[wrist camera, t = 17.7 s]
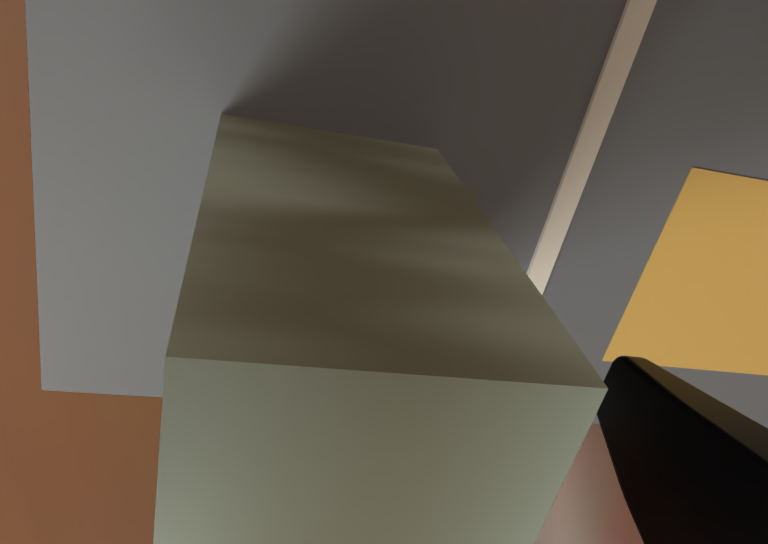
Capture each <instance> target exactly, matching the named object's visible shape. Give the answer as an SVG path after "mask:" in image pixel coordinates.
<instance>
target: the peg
mask: <svg viewBox="0 0 768 544" xmlns="http://www.w3.org/2000/svg"><path fill="white" fill-rule="evenodd" d="M607 390H608V387H607V386H606V385H605V383H604V382H603V380H602V379H601V378H600V376H599V375H598V373H597V372H596V371H595V369H594V368H593V366H592V365H591V364H590V362H589V361H588V359H587V358H586V357H585V355H584V354H583V352H582V351H581V350H580V348H579V347H578V345H577V344H576V343H575V341H574V340H573V338H572V337H571V336H570V334H569V333H568V331H567V330H566V329H565V327H564V326H563V324H562V323H561V322H560V320H559V319H558V317H557V316H556V315H555V313H554V312H553V310H552V309H551V307H550V306H549V305H548V303H547V302H546V300H545V299H544V298H543V296H542V295H541V293H540V292H539V291H538V289H537V288H536V286H535V285H534V284H533V282H532V281H531V279H530V278H529V277H528V275H527V274H526V272H525V271H524V270H523V268H522V267H521V265H520V264H519V263H518V261H517V260H516V258H515V257H514V256H513V254H512V253H511V251H510V250H509V249H508V247H507V246H506V244H505V243H504V242H503V240H502V239H501V237H500V236H499V235H498V233H497V232H496V230H495V229H494V228H493V226H492V225H491V223H490V222H489V221H488V219H487V218H486V216H485V215H484V214H483V212H482V211H481V209H480V208H479V207H478V205H477V204H476V202H475V201H474V200H473V198H472V197H471V195H470V194H469V193H468V191H467V190H466V188H465V187H464V186H463V184H462V183H461V181H460V180H459V179H458V177H457V176H456V174H455V173H454V171H453V170H452V169H451V167H450V166H449V164H448V163H447V162H446V160H445V159H444V157H443V156H442V155H441V153H440V152H439V150H438V149H435V148H429V147H423V146H417V145H411V144H404V143H398V142H392V141H386V140H380V139H374V138H368V137H362V136H356V135H350V134H344V133H338V132H332V131H325V130H319V129H313V128H307V127H301V126H295V125H289V124H283V123H277V122H271V121H265V120H259V119H252V118H246V117H240V116H234V115H228V114H222V113H221V116H220V120H219V125H218V129H217V133H216V138H215V142H214V146H213V151H212V155H211V159H210V164H209V168H208V173H207V177H206V181H205V186H204V190H203V194H202V199H201V203H200V207H199V212H198V216H197V221H196V225H195V229H194V234H193V238H192V242H191V247H190V251H189V256H188V260H187V264H186V269H185V273H184V277H183V282H182V286H181V290H180V295H179V299H178V304H177V308H176V312H175V317H174V321H173V325H172V330H171V334H170V338H169V343H168V347H167V352H166V356H165V370H164V385H163V400H162V416H161V431H160V447H159V462H158V477H157V493H156V508H155V524H154V539H153V544H534V543H535V541H536V538H537V536H538V534H539V532H540V530H541V528H542V526H543V524H544V522H545V520H546V518H547V516H548V513H549V511H550V509H551V507H552V505H553V503H554V501H555V499H556V497H557V495H558V493H559V491H560V488H561V486H562V484H563V482H564V480H565V478H566V476H567V474H568V472H569V470H570V468H571V466H572V463H573V461H574V459H575V457H576V455H577V453H578V451H579V449H580V447H581V445H582V443H583V440H584V438H585V436H586V434H587V432H588V430H589V428H590V426H591V424H592V422H593V420H594V418H595V415H596V413H597V411H598V409H599V407H600V405H601V403H602V401H603V399H604V397H605V395H606V393H607Z"/></svg>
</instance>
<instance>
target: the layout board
mask: <svg viewBox="0 0 768 544" xmlns="http://www.w3.org/2000/svg"><path fill="white" fill-rule="evenodd" d="M25 5H26V29H27V52H28V76H29V100H30V123H31V147H32V170H33V194H34V217H35V241H36V265H37V288H38V312H39V335H40V359H41V383H42V390H49V391H66V392H82V393H99V394H115V395H132V396H148V397H163V385H164V370H165V356H166V352H167V347H168V343H169V338H170V334H171V330H172V325H173V321H174V317H175V312H176V308H177V304H178V299H179V295H180V290H181V286H182V282H183V277H184V273H185V269H186V264H187V260H188V256H189V251H190V247H191V242H192V238H193V234H194V229H195V225H196V221H197V216H198V212H199V207H200V203H201V199H202V194H203V190H204V186H205V181H206V177H207V173H208V168H209V164H210V159H211V155H212V151H213V146H214V142H215V138H216V133H217V129H218V125H219V120H220V116H221V113H222V114H228V115H234V116H240V117H246V118H252V119H259V120H265V121H271V122H277V123H283V124H289V125H295V126H301V127H307V128H313V129H319V130H325V131H332V132H338V133H344V134H350V135H356V136H362V137H368V138H374V139H380V140H386V141H392V142H398V143H404V144H411V145H417V146H423V147H429V148H435V149H438V150H439V152H440V153H441V155H442V156H443V157H444V159H445V160H446V162H447V163H448V164H449V166H450V167H451V169H452V170H453V171H454V173H455V174H456V176H457V177H458V179H459V180H460V181H461V183H462V184H463V186H464V187H465V188H466V190H467V191H468V193H469V194H470V195H471V197H472V198H473V200H474V201H475V202H476V204H477V205H478V207H479V208H480V209H481V211H482V212H483V214H484V215H485V216H486V218H487V219H488V221H489V222H490V223H491V225H492V226H493V228H494V229H495V230H496V232H497V233H498V235H499V236H500V237H501V239H502V240H503V242H504V243H505V244H506V246H507V247H508V249H509V250H510V251H511V253H512V254H513V256H514V257H515V258H516V260H517V261H518V263H519V264H520V265H521V267H522V268H523V270H524V271H525V272H526V274H527V275H528V277H529V278H530V279H531V281H532V282H533V284H534V285H535V286H536V288H537V289H538V291H539V292H540V293H541V295H542V296H543V298H544V299H545V300H546V302H547V303H548V305H549V306H550V307H551V309H552V310H553V312H554V313H555V315H556V316H557V317H558V319H559V320H560V322H561V323H562V324H563V326H564V327H565V329H566V330H567V331H568V333H569V334H570V336H571V337H572V338H573V340H574V341H575V343H576V344H577V345H578V347H579V348H580V350H581V351H582V352H583V354H584V355H585V357H586V358H587V359H588V361H589V362H590V364H591V365H592V366H593V368H594V369H595V371H596V372H597V373H598V375H599V376H600V378H601V379H602V380H603V381H604V379H605V377H606V374H607V372H608V370H609V368H610V366H611V364H612V362H613V361H614V360H615V359H616V358H617V357H619V356H633V357H642V358H645V359H647V360H649V361H651V362H653V363H654V364H656V365H658V366H660V367H661V368H663V369H665V370H667V371H668V372H670V373H672V374H674V375H675V376H677V377H679V378H681V379H682V380H684V381H686V382H688V383H689V384H691V385H693V386H695V387H696V388H698V389H700V390H702V391H703V392H705V393H707V394H709V395H710V396H712V397H714V398H715V399H717V400H719V401H721V402H722V403H724V404H726V405H728V406H729V407H731V408H733V409H735V410H736V411H738V412H740V413H742V414H743V415H745V416H747V417H749V418H750V419H752V420H754V421H756V422H757V423H759V424H761V425H763V426H764V427H766V428H768V0H25ZM592 423H595V424H600V423H599V420H598V417H597V414H596V415H595V418H594V420H593V422H592Z"/></svg>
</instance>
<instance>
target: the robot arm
mask: <svg viewBox="0 0 768 544" xmlns="http://www.w3.org/2000/svg"><path fill="white" fill-rule="evenodd" d="M603 382H604V383H605V385H606V386H607V387H608V390H607V393H606V395H605V397H604V399H603V401H602V403H601V405H600V407H599V409H598V411H597V413H596V414H597V417H598V420H599V423H600V426H601V429H602V432H603V435H604V438H605V441H606V444H607V448H608V451H609V454H610V457H611V460H612V463H613V466H614V469H615V472H616V475H617V478H618V481H619V484H620V487H621V490H622V493H623V495H624V498H625V501H626V503H627V506H628V508H629V511H630V513H631V515H632V518H633V520H634V522H635V524H636V527H637V529H638V531H639V533H640V536H641V538H642V540H643V543H644V544H768V428H766V427H764V426H763V425H761V424H759V423H757V422H756V421H754V420H752V419H750V418H749V417H747V416H745V415H743V414H742V413H740V412H738V411H736V410H735V409H733V408H731V407H729V406H728V405H726V404H724V403H722V402H721V401H719V400H717V399H715V398H714V397H712V396H710V395H709V394H707V393H705V392H703V391H702V390H700V389H698V388H696V387H695V386H693V385H691V384H689V383H688V382H686V381H684V380H682V379H681V378H679V377H677V376H675V375H674V374H672V373H670V372H668V371H667V370H665V369H663V368H661V367H660V366H658V365H656V364H654V363H653V362H651V361H649V360H647V359H645V358H642V357H633V356H619V357H617V358H616V359H615V360H614V361H613V362H612V364H611V366H610V368H609V370H608V372H607V374H606V377H605V379H604V381H603Z"/></svg>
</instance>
